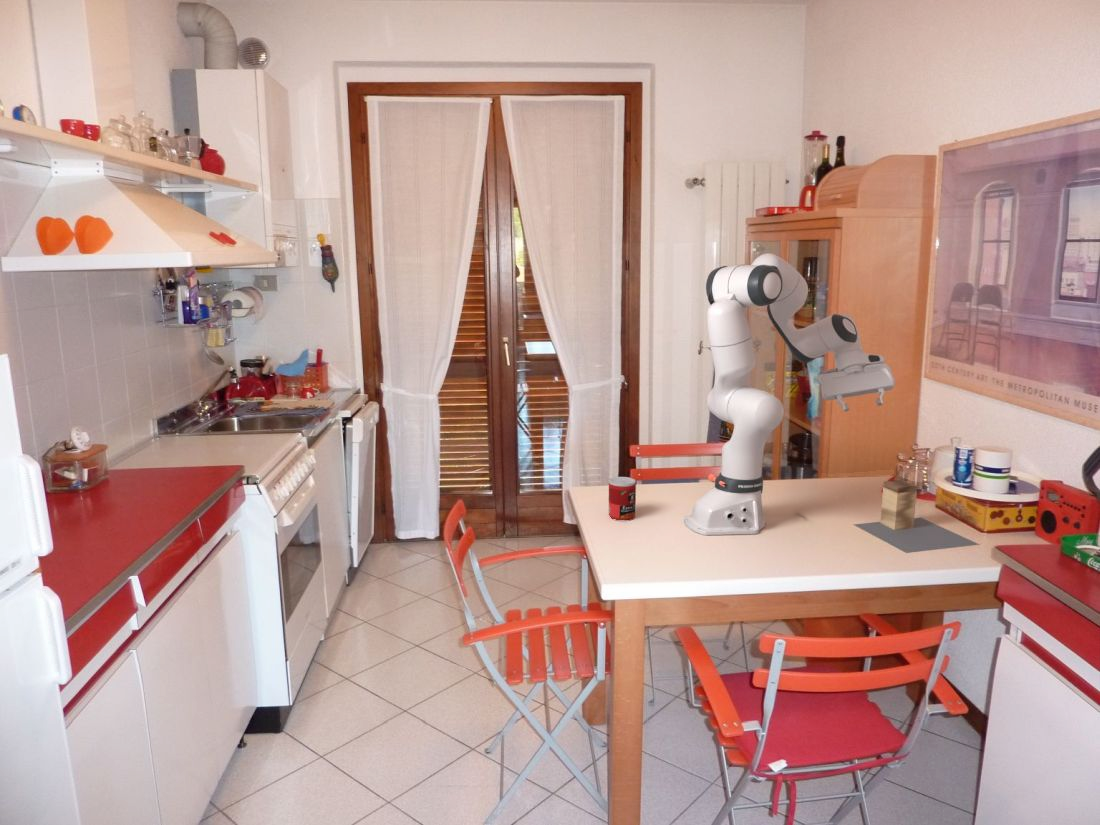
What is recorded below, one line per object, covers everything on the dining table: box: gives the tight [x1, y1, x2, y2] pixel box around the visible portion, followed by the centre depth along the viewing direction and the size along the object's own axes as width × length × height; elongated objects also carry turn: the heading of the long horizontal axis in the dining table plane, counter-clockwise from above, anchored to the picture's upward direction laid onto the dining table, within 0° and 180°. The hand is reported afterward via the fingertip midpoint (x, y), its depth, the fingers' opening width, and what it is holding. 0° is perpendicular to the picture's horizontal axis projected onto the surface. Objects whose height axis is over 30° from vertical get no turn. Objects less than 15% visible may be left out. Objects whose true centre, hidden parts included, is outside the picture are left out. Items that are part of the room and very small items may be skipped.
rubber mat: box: [852, 517, 980, 554], centre depth 215 cm, size 22×22×1 cm
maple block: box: [879, 479, 918, 530], centre depth 220 cm, size 6×6×12 cm
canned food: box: [608, 476, 637, 521], centre depth 231 cm, size 8×8×11 cm
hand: (863, 407), depth 232 cm, fingers open, 8 cm apart
